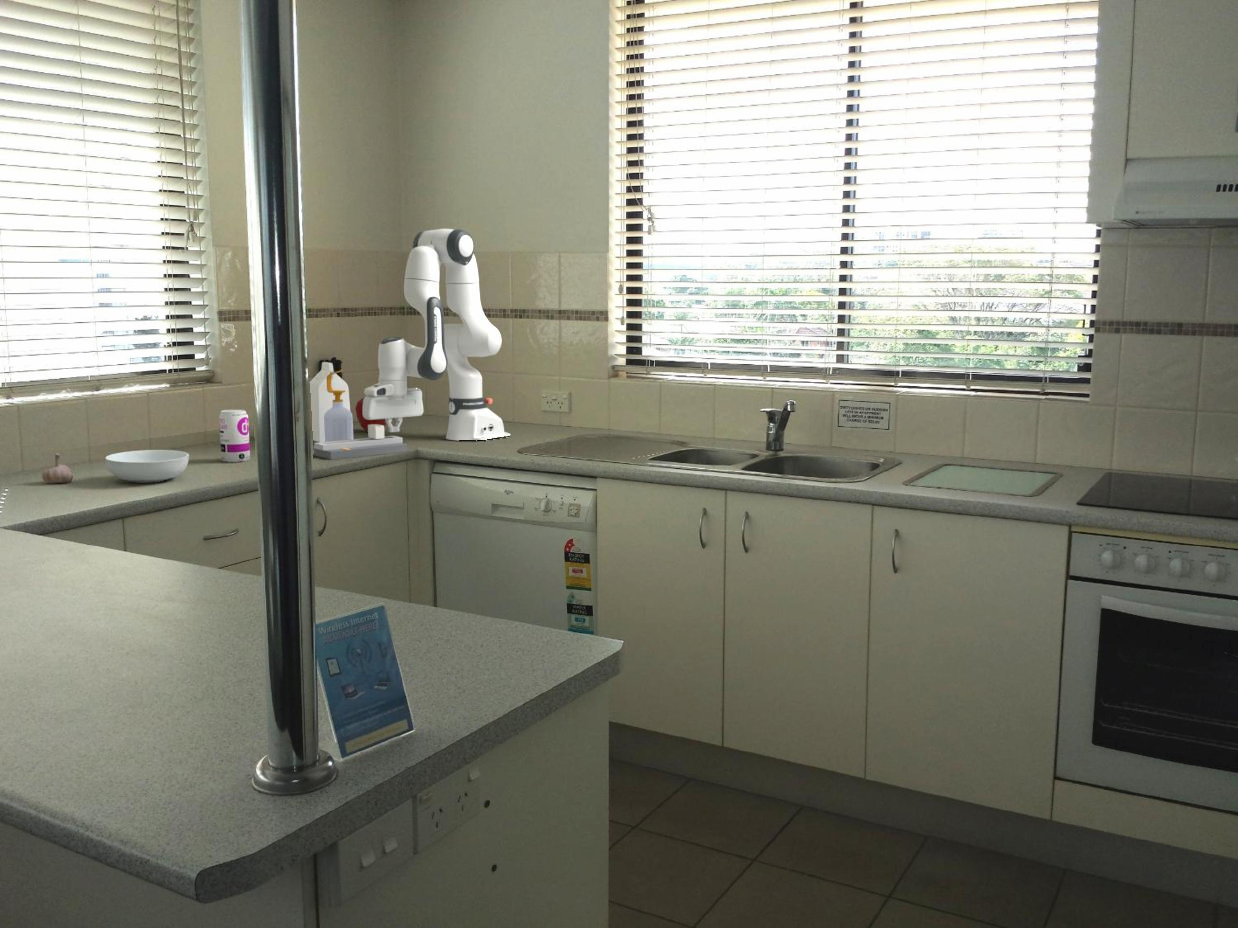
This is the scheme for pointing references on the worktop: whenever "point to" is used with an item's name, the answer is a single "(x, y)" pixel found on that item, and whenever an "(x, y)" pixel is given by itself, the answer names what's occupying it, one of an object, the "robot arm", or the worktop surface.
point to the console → (359, 447)
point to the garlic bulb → (57, 473)
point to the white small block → (375, 431)
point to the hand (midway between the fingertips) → (394, 431)
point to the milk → (325, 398)
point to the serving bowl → (147, 465)
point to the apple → (365, 422)
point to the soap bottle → (337, 417)
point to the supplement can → (234, 435)
